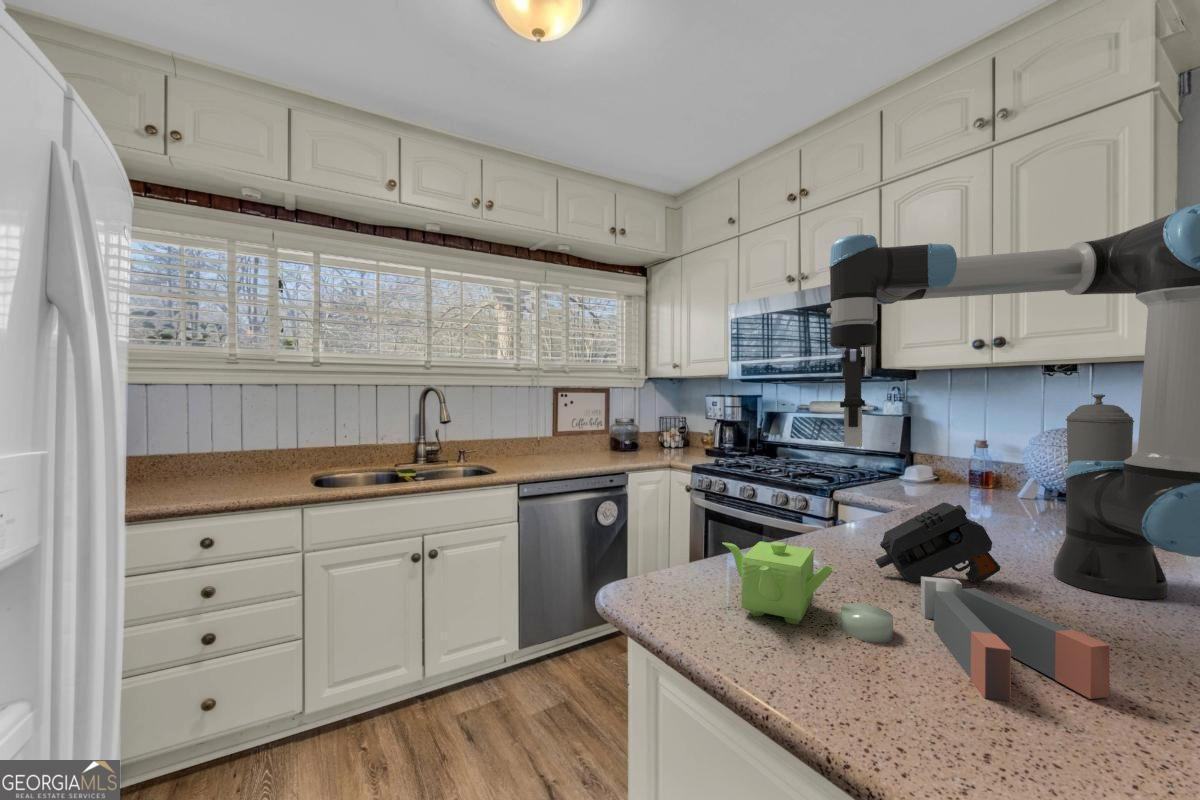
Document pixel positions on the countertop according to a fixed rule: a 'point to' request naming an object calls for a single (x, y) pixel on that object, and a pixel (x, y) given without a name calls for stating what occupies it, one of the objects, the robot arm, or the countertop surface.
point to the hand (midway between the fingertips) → (853, 443)
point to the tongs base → (967, 638)
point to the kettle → (778, 579)
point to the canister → (1099, 433)
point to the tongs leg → (1045, 644)
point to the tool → (939, 545)
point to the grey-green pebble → (867, 622)
